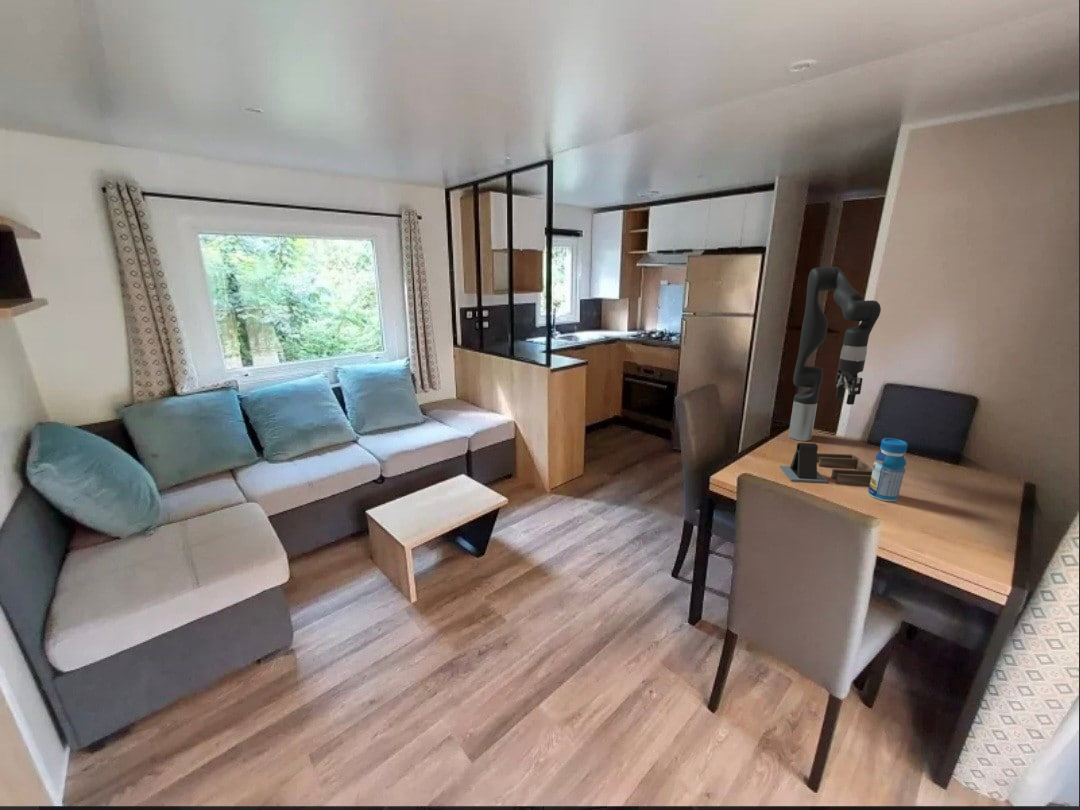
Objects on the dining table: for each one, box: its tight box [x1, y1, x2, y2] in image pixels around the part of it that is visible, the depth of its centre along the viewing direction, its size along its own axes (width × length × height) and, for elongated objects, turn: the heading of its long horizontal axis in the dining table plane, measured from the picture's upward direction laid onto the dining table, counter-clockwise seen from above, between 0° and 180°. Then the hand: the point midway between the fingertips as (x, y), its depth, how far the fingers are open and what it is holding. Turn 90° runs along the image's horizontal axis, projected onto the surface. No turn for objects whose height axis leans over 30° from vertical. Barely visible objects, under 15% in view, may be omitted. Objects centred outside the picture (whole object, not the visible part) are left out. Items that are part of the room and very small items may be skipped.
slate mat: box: [779, 465, 828, 484], centre depth 165 cm, size 12×12×1 cm
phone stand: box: [789, 442, 819, 479], centre depth 163 cm, size 9×6×12 cm, turn 170°
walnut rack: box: [817, 452, 873, 486], centre depth 166 cm, size 20×14×4 cm
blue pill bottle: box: [867, 437, 909, 502], centre depth 146 cm, size 8×8×20 cm
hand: (844, 400), depth 162 cm, fingers open, 8 cm apart
